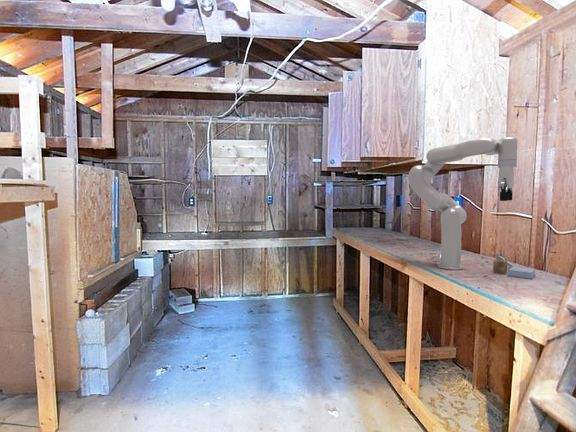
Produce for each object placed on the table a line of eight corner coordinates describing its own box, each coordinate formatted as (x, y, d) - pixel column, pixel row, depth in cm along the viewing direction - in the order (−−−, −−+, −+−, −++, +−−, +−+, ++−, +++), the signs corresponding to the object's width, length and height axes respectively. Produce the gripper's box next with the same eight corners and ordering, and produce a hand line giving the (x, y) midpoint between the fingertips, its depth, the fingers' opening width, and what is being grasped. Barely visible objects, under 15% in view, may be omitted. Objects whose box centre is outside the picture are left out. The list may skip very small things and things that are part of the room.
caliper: (495, 263, 194) (495, 252, 194) (497, 263, 194) (497, 252, 194) (518, 272, 174) (519, 259, 174) (520, 272, 174) (521, 259, 174)
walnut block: (493, 272, 172) (493, 260, 171) (495, 271, 175) (495, 259, 175) (504, 274, 168) (505, 262, 168) (506, 272, 172) (507, 260, 171)
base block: (507, 276, 165) (507, 269, 164) (511, 272, 171) (511, 266, 171) (531, 279, 158) (532, 272, 158) (534, 275, 165) (535, 269, 165)
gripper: (502, 165, 173) (501, 200, 174) (493, 163, 160) (492, 201, 161) (520, 164, 168) (519, 200, 169) (512, 162, 155) (511, 201, 156)
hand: (506, 200), depth 165 cm, fingers open, 9 cm apart
